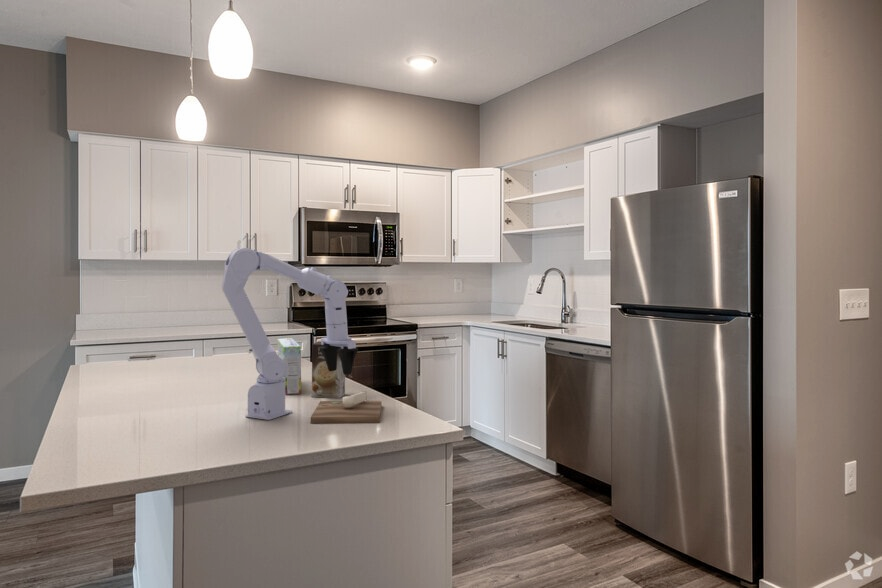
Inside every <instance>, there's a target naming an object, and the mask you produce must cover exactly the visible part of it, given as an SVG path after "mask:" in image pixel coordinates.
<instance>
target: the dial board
mask: <svg viewBox="0 0 882 588" xmlns="http://www.w3.org/2000/svg"><path fill="white" fill-rule="evenodd" d="M382 403H383V400H365V401H362V402H360V403H357V404H354V406H353V407H343V400H320V401H319V402H318V404H317V406H316V407H315V409H314V410H313V412H312V414H311V416H310V424H353V423H355V424H356V423H357V424H358V423H359V424H361V423H363V424H364V423H371V424H373V423H375V424H376V423H380V421H381V413H382V406H383V405H382Z"/></svg>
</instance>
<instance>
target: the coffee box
mask: <svg viewBox="0 0 882 588" xmlns="http://www.w3.org/2000/svg"><path fill="white" fill-rule="evenodd" d="M323 346H324V345H321V341H317V342H314V343H312V345H311V348H312V349H311V350H312V351H311V395H310V396H311V398H328V399H340V398H343V397H344V395H346V375H344V373H343V369H342V363H341V359H340V356H339V354H337V369H336V370H335V371H329V370H328V367H327V364H326V361H325V358H324V356H323V354H322V353H321V351H320V350H319V347H323ZM339 349H343V347H339Z"/></svg>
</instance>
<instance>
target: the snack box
mask: <svg viewBox="0 0 882 588" xmlns="http://www.w3.org/2000/svg"><path fill="white" fill-rule="evenodd" d="M301 349H302V348H301V345H300V344H298V342H297V341H296V340H294V339H293V337H290V338H289V337H286V338H277V355H278V357H279V358H281V359H282V360H283V361H284V362H285V363H286V366H287V372H286V374H285V376H284V377H285V396H287V395H289V396H290V395H300V394H302V364H301V363H302V358H301V357H302V353H301V352H302V351H301Z"/></svg>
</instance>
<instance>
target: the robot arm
mask: <svg viewBox="0 0 882 588" xmlns="http://www.w3.org/2000/svg"><path fill="white" fill-rule="evenodd" d="M262 270H263V271H264V270H268V271H271V272H273V273H276V274H278V275H281V276H283V277H286V278H289V279H291V280H294V281H295V282H296V284H297V286H298V288H300V289H303V290H304V291H307V292H310V293H312V294H315V295H317V296H319V297H322V298H323V299H324V313H325V329H326V336H325V337H321V338H320V342H321V345H324V346H323V347H319V350H320V351H321V353H322V354H323V356H324V358H325V361H326V364H327V367H328V370H329V371H335V370H336V369H337V354H339V356H340V359H341V363H342V369H343V373H344V375H345V376H346V375H351V374H352V371H353V367H354V361H355V359H356V355H357V354H358V351H359V347H357V346H356V345H357V344H356V340H352V337H349V334H348V331H349V330H348V318H347V317H348V315H347V306H346V305H347V304H346V298H347V297H348V294H349V289H348V288H347V285H346V284H345V283H344V282H343V281H341V280H338V279H337V280H336V279H334V278H333V276H332V275H329V274H328V275H326V274H324V273H321V272H320V271H319V272H318V271H317V268H315V267H312V266H311V267H310V268H309V267H305V268H303V269H300V268H298V267H295V266H294V265H291V264H289V263H287V262H285V261H284V260H281V259H279V258H277V257H275V256H272V255H270V254H267V253H265V252H262V251H258V250H254V249H252V248H250V247H249V248H248V247H243V248H237V249H234V250H233V251H231V252H230V254H229V255H228V256H227V258H226V260H225V262H224V271H223V276H222V284H221V289H222V292H223V294H224V296H225V298H226V299H227V302H228V304H229V306H230V308H231V311H232V312H233V313H234V316H235V318H236V320H237V322H238V325H239V326H240V328H241V331H242V332H243V334H244V336H245V338H246V340H247V342H248V344H249V347H250V348H251V350H252V354H253V357H254V359H255V370H256V372H257V373H258V374H259V375H258V376H257V377H256V382H255V384H253V385H251V386H250V387H249V389H248V391H247V414H245V415H244V416H245V417H246V418H252V419H253V418H254V419H260V420H266V421H267V420H268V421H270V420H274V419H276V418H279V417H282V416H286V415H288V414H291V413H293V410H292V409H286V395H285V377H284V376H285V374H286V372H287V366H286V363H285V362H284V361H283V360H282V359H281V358H279V357H278V352H276V350H275V348H274V347H273V345H272V343H271V342H270V340H269V338H268V336H267V333H266V332H265V330H264V328H263V326H262V324H261V322H260V320H259V318H258V316H257V313H256V312H255V310H254V309H255V308H253V304H252V303H251V301H250V299H249V297H248V295H247V292H246V291H245V289H244V288H245V286H246V284H247V282H248V280H249V277H250V276H251V275H252V274H253V273H254V271H262ZM339 347H343V349H339Z"/></svg>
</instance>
